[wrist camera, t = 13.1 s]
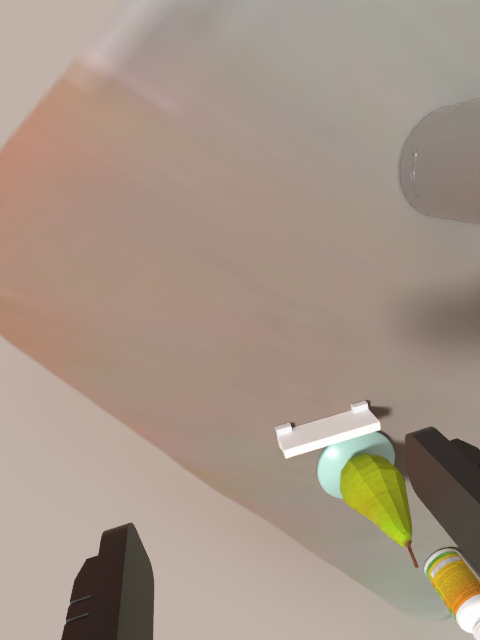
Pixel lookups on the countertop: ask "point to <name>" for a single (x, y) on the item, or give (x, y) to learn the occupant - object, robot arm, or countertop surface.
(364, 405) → the rail
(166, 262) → the countertop surface
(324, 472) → the pad
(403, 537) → the fruit
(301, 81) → the countertop surface
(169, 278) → the countertop surface
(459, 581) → the supplement bottle
